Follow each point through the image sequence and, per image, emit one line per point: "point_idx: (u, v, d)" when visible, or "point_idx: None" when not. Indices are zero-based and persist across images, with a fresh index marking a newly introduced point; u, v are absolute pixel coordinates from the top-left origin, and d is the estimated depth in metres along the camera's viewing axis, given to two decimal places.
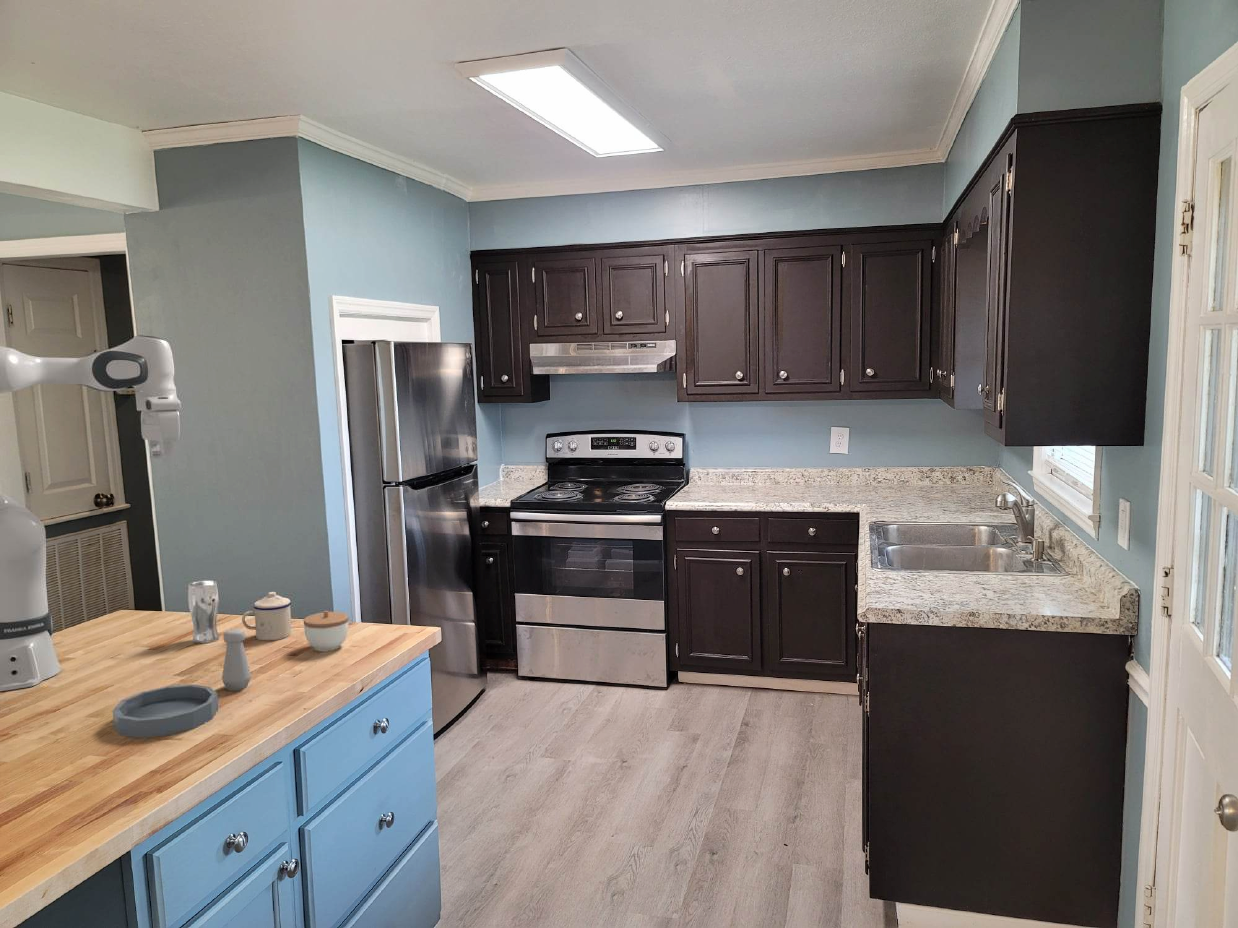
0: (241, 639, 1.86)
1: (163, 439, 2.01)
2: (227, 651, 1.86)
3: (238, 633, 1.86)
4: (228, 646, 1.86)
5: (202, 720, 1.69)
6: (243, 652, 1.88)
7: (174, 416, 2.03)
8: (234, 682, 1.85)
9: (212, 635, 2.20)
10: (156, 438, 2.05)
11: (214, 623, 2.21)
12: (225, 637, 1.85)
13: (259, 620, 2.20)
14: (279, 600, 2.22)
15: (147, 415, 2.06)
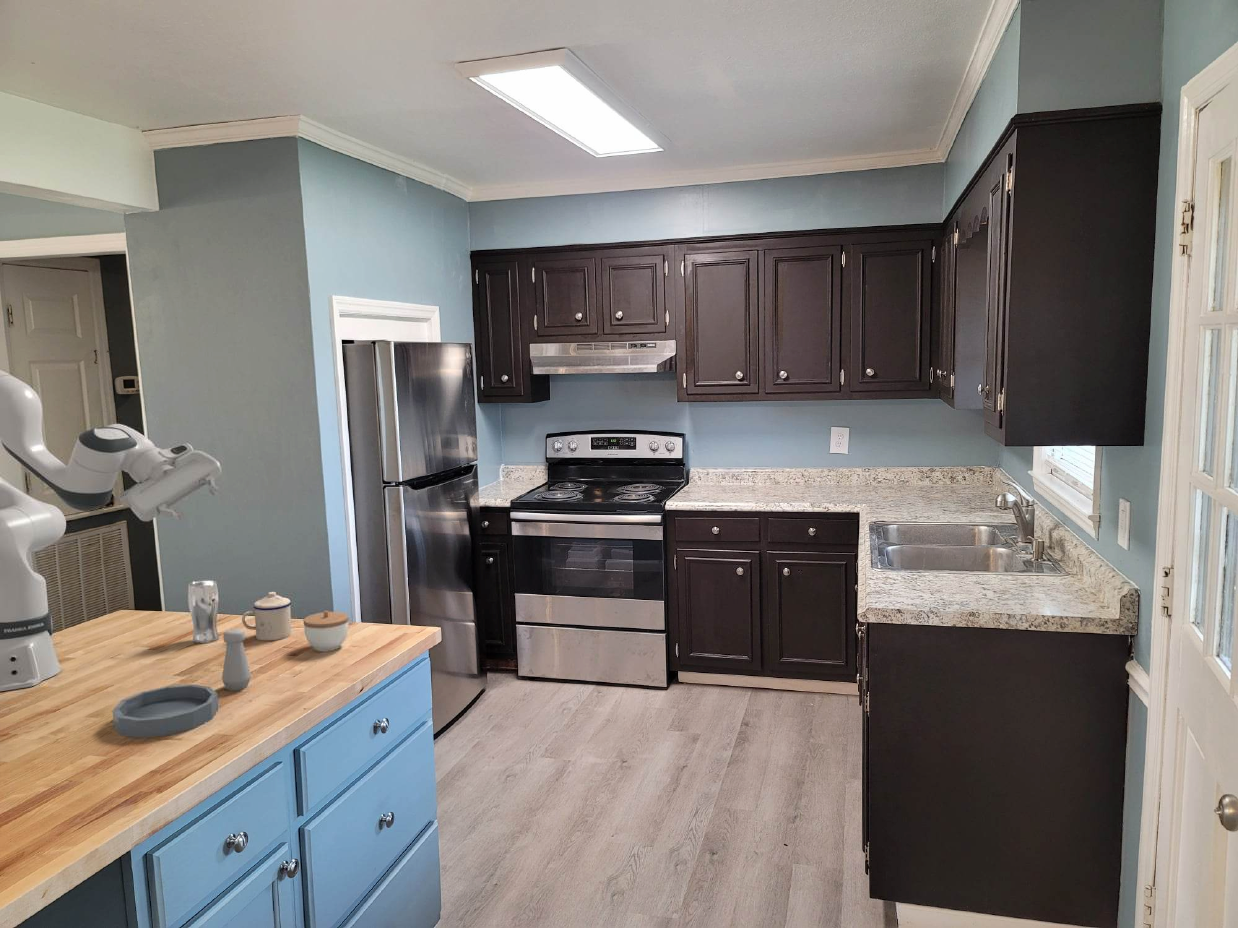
0: (241, 639, 1.86)
1: (218, 464, 1.95)
2: (227, 651, 1.86)
3: (238, 633, 1.86)
4: (228, 646, 1.86)
5: (202, 720, 1.69)
6: (243, 652, 1.88)
7: None
8: (234, 682, 1.85)
9: (212, 635, 2.20)
10: (197, 476, 1.92)
11: (214, 623, 2.21)
12: (225, 637, 1.85)
13: (259, 620, 2.20)
14: (279, 600, 2.22)
15: (170, 466, 1.91)
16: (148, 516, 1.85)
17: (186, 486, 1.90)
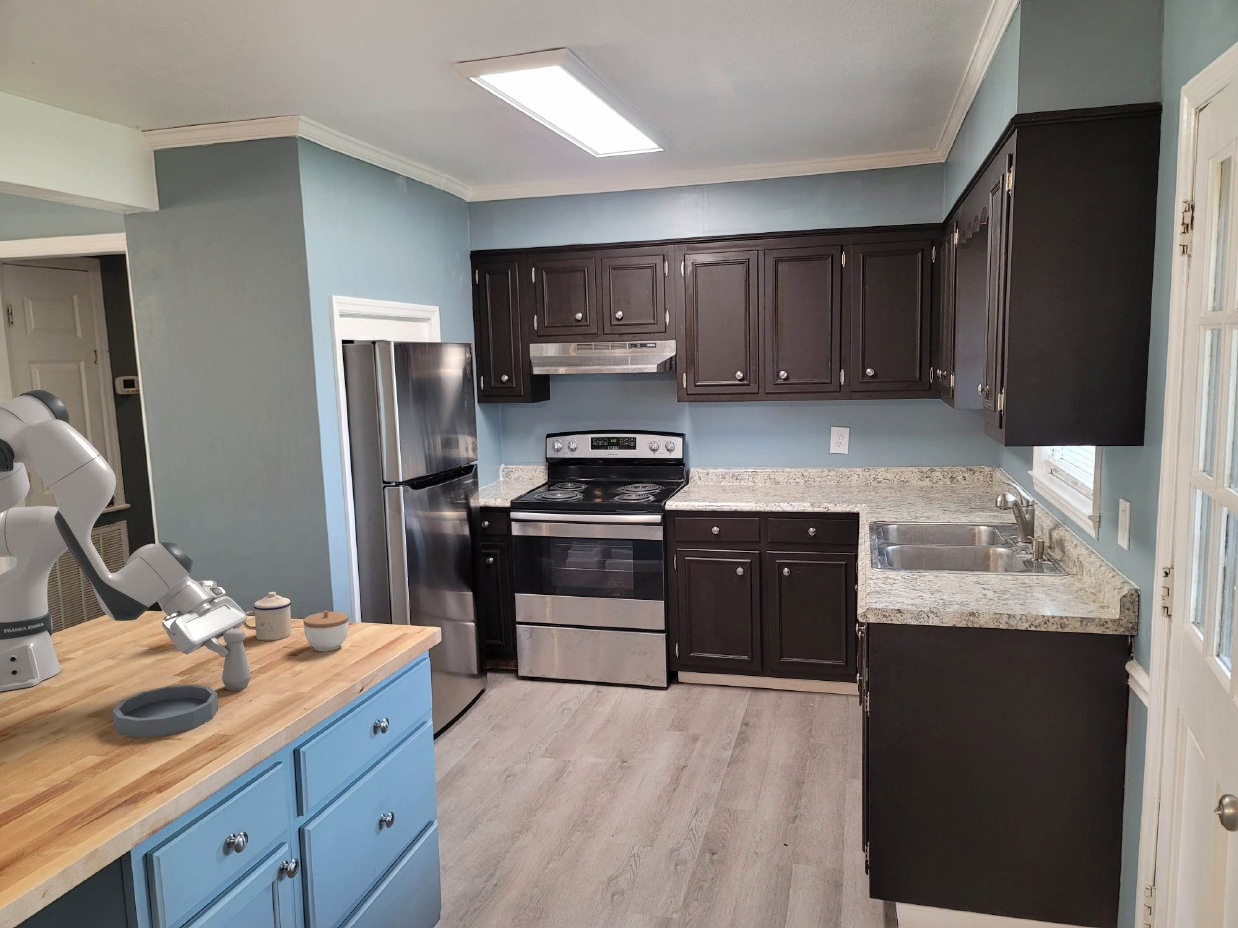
0: (241, 639, 1.86)
1: None
2: None
3: (238, 632, 1.86)
4: (228, 646, 1.86)
5: (202, 720, 1.69)
6: (243, 652, 1.88)
7: None
8: (234, 682, 1.85)
9: None
10: (233, 622, 1.91)
11: None
12: (225, 637, 1.85)
13: (259, 620, 2.20)
14: (279, 600, 2.22)
15: (211, 605, 1.89)
16: (192, 649, 1.79)
17: (225, 629, 1.88)
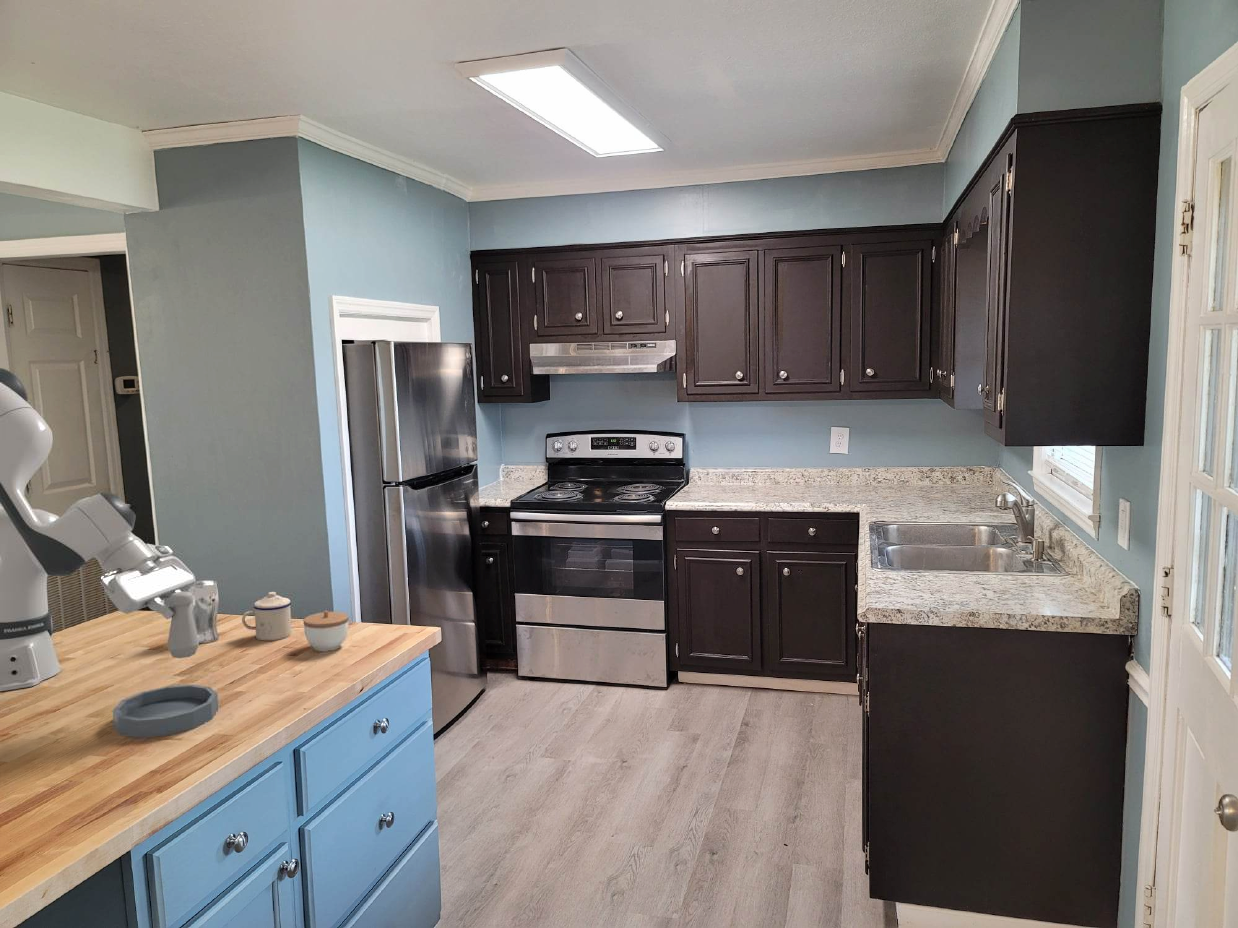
0: (189, 602, 1.73)
1: None
2: None
3: (186, 595, 1.72)
4: (174, 609, 1.72)
5: (202, 720, 1.69)
6: (191, 617, 1.74)
7: None
8: (180, 648, 1.72)
9: (212, 635, 2.20)
10: (179, 583, 1.78)
11: (214, 623, 2.21)
12: (171, 599, 1.72)
13: (259, 620, 2.20)
14: (279, 600, 2.22)
15: (155, 564, 1.75)
16: (133, 608, 1.65)
17: (170, 590, 1.75)
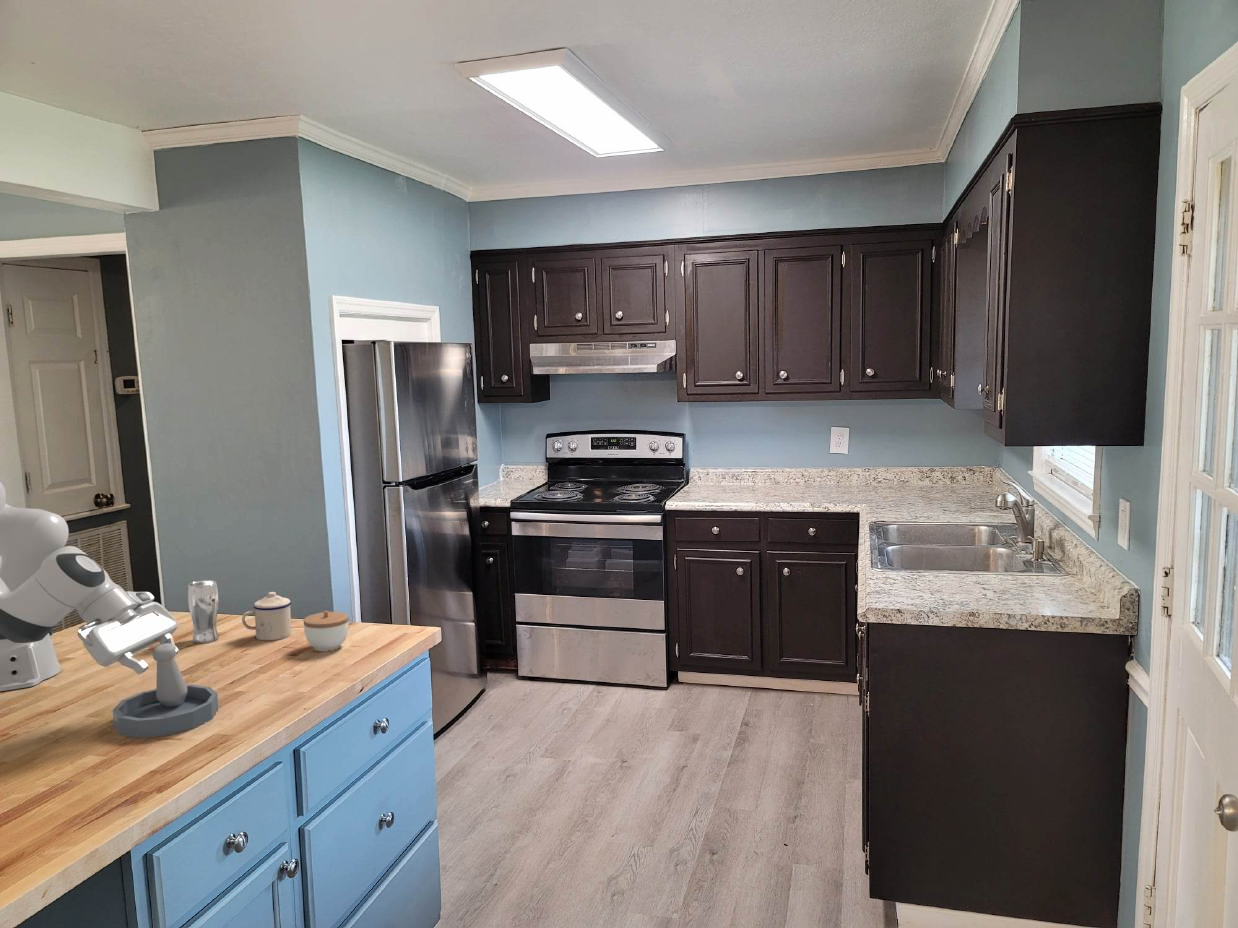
0: (172, 656, 1.72)
1: (177, 624, 1.80)
2: (158, 668, 1.72)
3: (168, 650, 1.72)
4: (158, 663, 1.72)
5: (202, 720, 1.69)
6: (176, 668, 1.74)
7: None
8: (168, 700, 1.73)
9: (212, 635, 2.20)
10: (161, 631, 1.75)
11: (214, 623, 2.21)
12: (154, 655, 1.71)
13: (259, 620, 2.20)
14: (279, 600, 2.22)
15: (136, 612, 1.72)
16: (111, 661, 1.62)
17: (151, 639, 1.72)
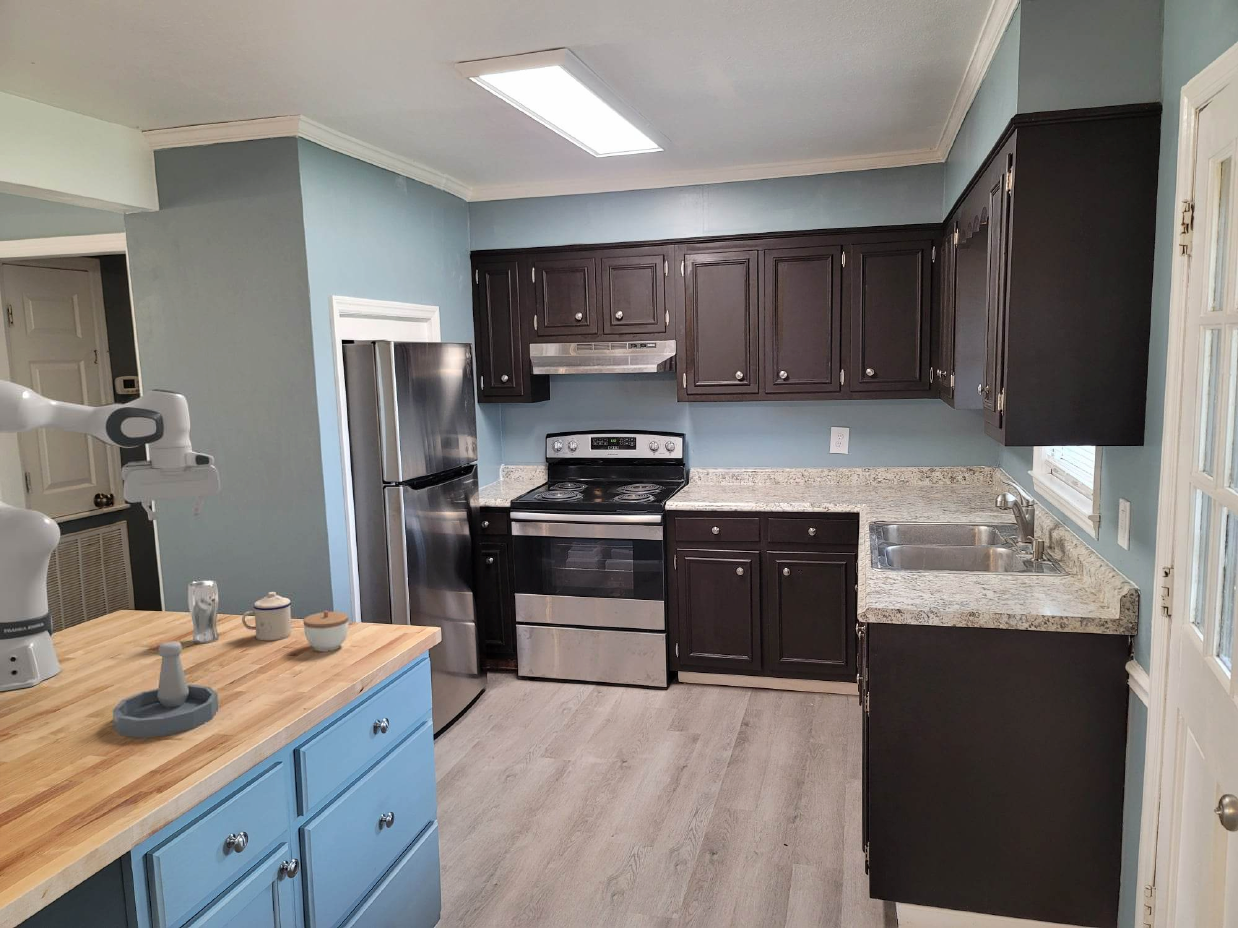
0: (177, 653, 1.74)
1: (218, 491, 2.06)
2: (162, 665, 1.74)
3: (174, 646, 1.74)
4: (163, 660, 1.74)
5: (202, 720, 1.69)
6: (180, 666, 1.76)
7: None
8: (169, 698, 1.74)
9: (212, 635, 2.20)
10: (195, 493, 2.02)
11: (214, 623, 2.21)
12: (160, 650, 1.73)
13: (259, 620, 2.20)
14: (279, 600, 2.22)
15: (182, 471, 1.99)
16: None
17: (179, 497, 2.00)
